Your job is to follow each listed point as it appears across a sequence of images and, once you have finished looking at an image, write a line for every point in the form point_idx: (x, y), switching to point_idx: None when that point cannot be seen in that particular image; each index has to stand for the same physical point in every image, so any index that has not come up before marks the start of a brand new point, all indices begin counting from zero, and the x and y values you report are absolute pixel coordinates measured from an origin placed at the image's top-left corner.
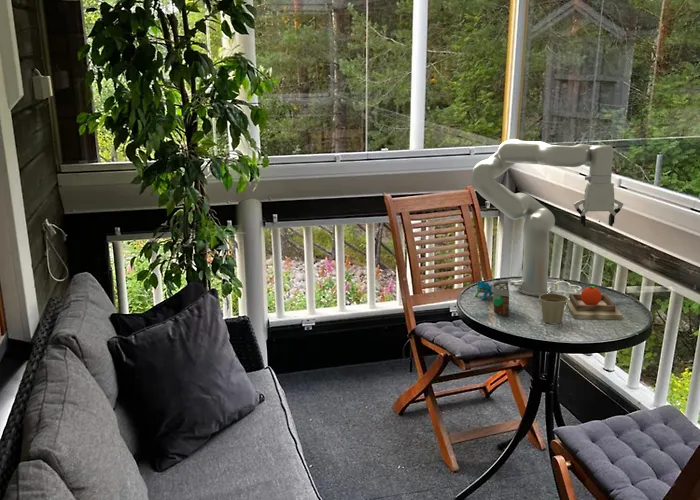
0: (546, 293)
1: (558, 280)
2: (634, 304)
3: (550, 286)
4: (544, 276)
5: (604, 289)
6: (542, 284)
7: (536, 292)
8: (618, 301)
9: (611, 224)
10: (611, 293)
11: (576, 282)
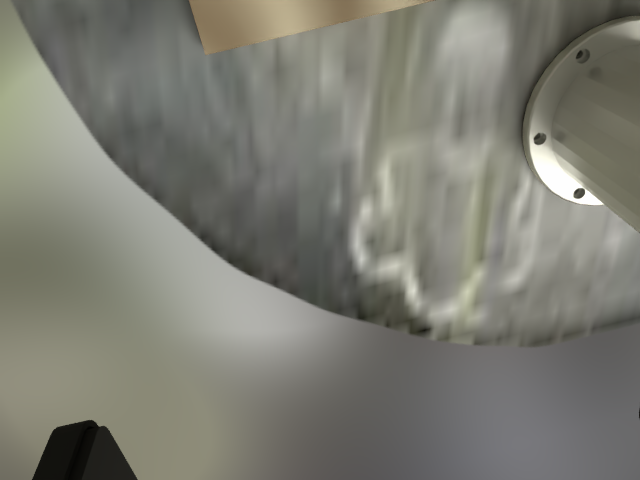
0: (563, 53)
1: (457, 321)
2: (36, 8)
3: (510, 219)
4: (636, 99)
5: (231, 244)
6: (617, 74)
7: (629, 36)
8: (138, 45)
9: (68, 450)
10: (191, 187)
11: (371, 314)
